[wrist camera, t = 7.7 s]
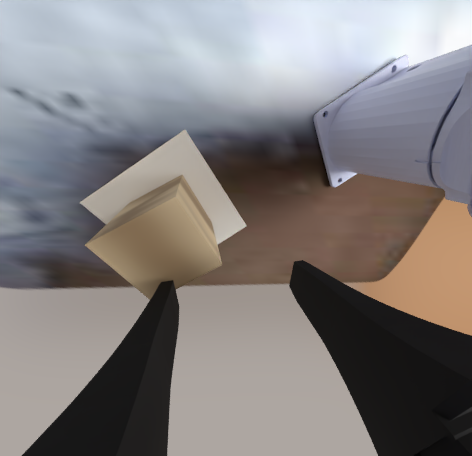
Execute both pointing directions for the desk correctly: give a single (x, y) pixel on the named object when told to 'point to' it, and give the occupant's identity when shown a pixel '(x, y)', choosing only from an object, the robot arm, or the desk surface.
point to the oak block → (159, 239)
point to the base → (162, 171)
